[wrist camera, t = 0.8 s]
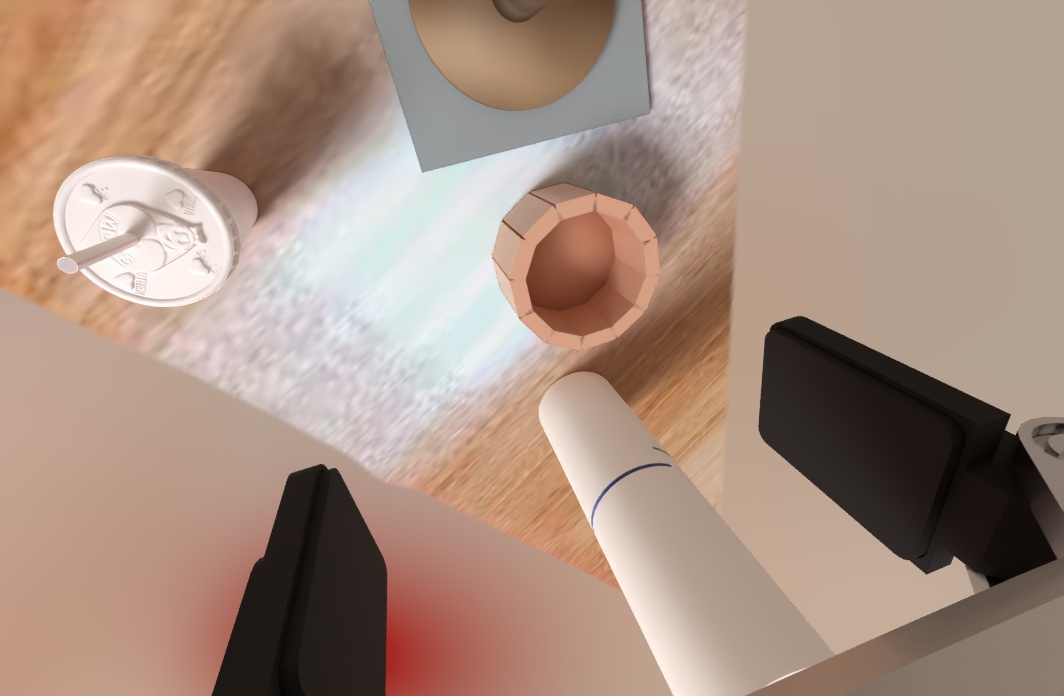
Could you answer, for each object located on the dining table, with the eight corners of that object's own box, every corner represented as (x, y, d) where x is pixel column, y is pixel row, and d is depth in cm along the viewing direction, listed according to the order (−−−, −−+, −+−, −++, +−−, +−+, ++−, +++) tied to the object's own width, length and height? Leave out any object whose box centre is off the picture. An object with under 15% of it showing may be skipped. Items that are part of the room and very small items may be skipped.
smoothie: (141, 148, 26) (-90, 167, 14) (266, 145, 27) (160, 158, 15) (182, 261, 29) (21, 360, 16) (293, 252, 30) (222, 337, 18)
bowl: (478, 205, 32) (494, 221, 26) (611, 169, 33) (652, 177, 28) (511, 332, 36) (530, 366, 31) (627, 296, 38) (664, 323, 32)
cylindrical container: (548, 368, 39) (743, 678, 17) (623, 374, 41) (880, 653, 19) (531, 439, 41) (681, 785, 20) (602, 440, 44) (807, 752, 22)
